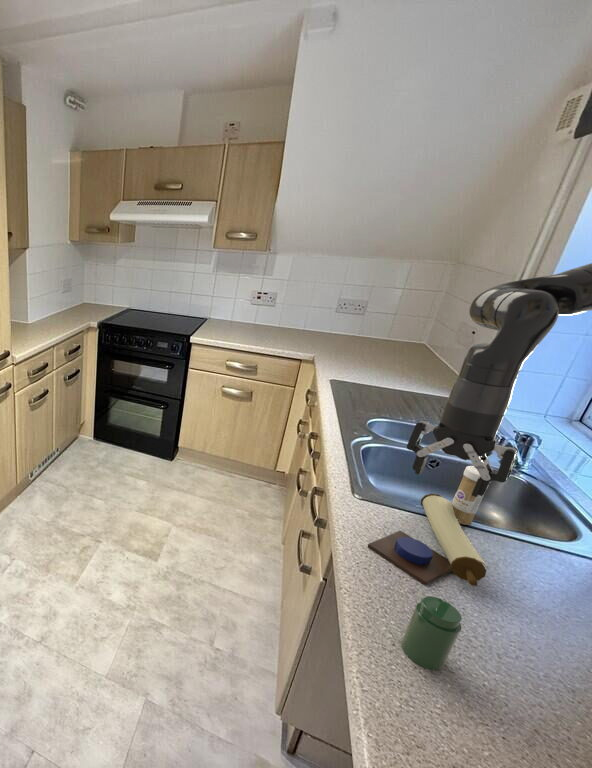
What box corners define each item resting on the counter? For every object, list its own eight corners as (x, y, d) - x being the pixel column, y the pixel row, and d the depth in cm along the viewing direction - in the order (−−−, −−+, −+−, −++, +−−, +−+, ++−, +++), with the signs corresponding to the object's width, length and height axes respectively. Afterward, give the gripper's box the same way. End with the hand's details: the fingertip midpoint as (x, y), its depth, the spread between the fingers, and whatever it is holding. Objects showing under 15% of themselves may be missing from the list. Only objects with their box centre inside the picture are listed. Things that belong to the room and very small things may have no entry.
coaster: (399, 533, 92) (400, 530, 92) (457, 568, 83) (458, 565, 82) (367, 546, 88) (368, 543, 88) (424, 585, 78) (426, 582, 78)
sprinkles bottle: (441, 514, 98) (461, 466, 94) (455, 512, 100) (475, 463, 95) (462, 527, 94) (483, 477, 90) (477, 524, 95) (499, 474, 91)
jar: (412, 632, 69) (430, 589, 66) (450, 661, 64) (472, 616, 61) (393, 645, 67) (411, 601, 63) (432, 676, 62) (453, 630, 59)
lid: (389, 550, 86) (392, 543, 85) (401, 540, 89) (404, 533, 88) (423, 569, 81) (426, 561, 80) (434, 557, 84) (437, 550, 84)
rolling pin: (414, 500, 104) (420, 483, 102) (442, 507, 101) (449, 490, 100) (450, 587, 77) (460, 565, 75) (489, 600, 74) (500, 578, 73)
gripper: (418, 395, 75) (393, 472, 81) (528, 424, 64) (490, 510, 70) (434, 388, 79) (409, 461, 85) (539, 414, 68) (502, 496, 74)
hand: (445, 483), depth 77 cm, fingers open, 8 cm apart
